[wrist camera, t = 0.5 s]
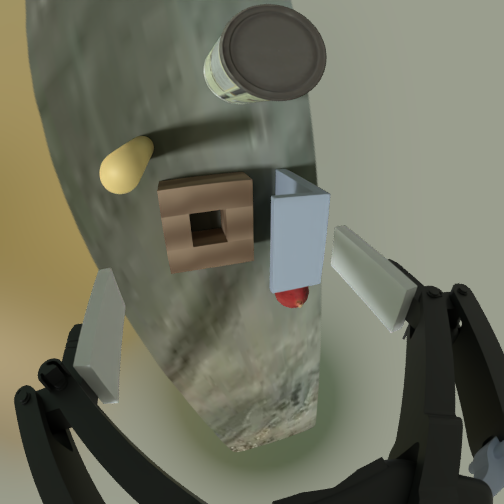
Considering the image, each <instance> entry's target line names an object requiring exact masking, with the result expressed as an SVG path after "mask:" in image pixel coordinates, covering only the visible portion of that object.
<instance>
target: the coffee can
mask: <svg viewBox="0 0 504 504" xmlns="http://www.w3.org/2000/svg"><path fill="white" fill-rule="evenodd" d="M325 66H326V49H325V45H324V42H323V39H322V37H321V35H320V33H319V32H318V30H317V29H316V27H314V25H313V24H312V23H311V22H310V21H309V20H308V19H307V18H306V17H305V16H303V15H302V14H300V13H298V12H296V11H295V10H293V9H290V8H287V7H284V6H280V5H274V4H262V5H256V6H252V7H249V8H246V9H244V10H242V11H240V12H239V13H237V14H236V15H235V16H234V17H233V18H232V19H231V20H230V21H229V22H228V23H227V25H226V26H225V28H224V30H223V32H222V35H221V36H220V38H219V39H218V41H217V42H216V44H215V46H214V47H213V49H212V50H211V51H210V53H209V54H208V56H207V58H206V60H205V63H204V77H205V81H206V83H207V85H208V87H209V88H210V90H211V91H212V92H213V93H214V94H215V95H216V96H217V97H219V98H220V99H222V100H224V101H226V102H229V103H234V104H248V103H252V102H260V101H270V100H272V101H286V100H292V99H296V98H298V97H301V96H303V95H305V94H306V93H308V92H309V91H311V90H312V89H313V88H314V87H315V86H316V85H317V84H318V82H319V81H320V79H321V77H322V75H323V73H324V70H325Z"/></svg>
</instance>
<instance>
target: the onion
mask: <svg viewBox="0 0 504 504" xmlns="http://www.w3.org/2000/svg"><path fill="white" fill-rule="evenodd" d="M308 294H309V289H308V286H306V287H302V288H297V289H292V290H287V291H282V292H277V293H275V295H276V298H277V300H278V301H279V302H280V303H281V304H282V305H283V306H286V307H289V308H296V307H301V306H302V305H303V304H304V303H305V301H306V300H307V298H308Z"/></svg>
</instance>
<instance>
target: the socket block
mask: <svg viewBox="0 0 504 504" xmlns="http://www.w3.org/2000/svg"><path fill="white" fill-rule="evenodd" d="M157 192H158V199H159V206H160V213H161V219H162V225H163V231H164V237H165V243H166V249H167V254H168V259H169V265H170V270H171V274H173V273H179V272H186V271H192V270H199V269H205V268H211V267H218V266H224V265H230V264H237V263H243V262H249V261H254V240H253V182H252V179H251V178H250V177H249V176H248V175H246V174H245V173H244V172H232V173H222V174H213V175H204V176H195V177H187V178H180V179H172V180H165V181H159V185H158V190H157ZM215 210H220V212H221V227H222V228H216V229H209V230H202V231H195V232H191V226H190V218H189V214H192V213H200V212H207V211H215Z"/></svg>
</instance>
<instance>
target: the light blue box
mask: <svg viewBox="0 0 504 504" xmlns="http://www.w3.org/2000/svg"><path fill="white" fill-rule="evenodd" d="M329 204H330V193H328V192H326V191H324V190H323V189H321V188H319V187H318V186H316V185H314V184H312V183H311V182H309V181H307V180H305V179H304V178H302V177H300V176H298V175H296V174H295V173H293V172H291V171H289V170H287V169H276V186H275V195H273V196H271V248H270V290H271V292H272V293H277V292H282V291H287V290H292V289H297V288H302V287H306V286H311V285H316V284H320V281H321V274H322V267H323V259H324V251H325V243H326V234H327V224H328V215H329Z"/></svg>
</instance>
